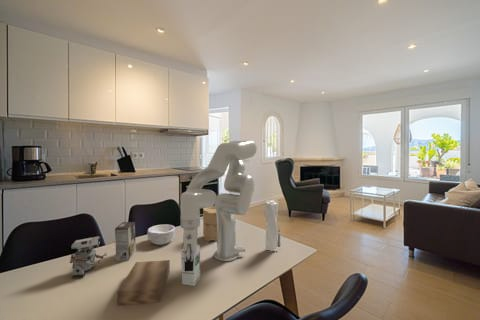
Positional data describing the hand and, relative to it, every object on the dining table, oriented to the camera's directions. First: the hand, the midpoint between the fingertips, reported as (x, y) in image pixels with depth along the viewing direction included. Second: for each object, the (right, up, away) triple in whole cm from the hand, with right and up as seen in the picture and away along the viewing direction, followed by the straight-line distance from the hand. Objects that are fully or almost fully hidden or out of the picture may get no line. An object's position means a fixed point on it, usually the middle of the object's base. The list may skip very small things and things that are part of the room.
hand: (189, 264), depth 90 cm
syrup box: (0, -8, +1) cm, 8 cm away
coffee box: (-37, -6, +22) cm, 43 cm away
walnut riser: (-16, -7, -2) cm, 18 cm away
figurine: (-46, -7, +8) cm, 47 cm away
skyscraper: (+38, -6, +30) cm, 49 cm away
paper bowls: (-25, -6, +40) cm, 47 cm away
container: (+4, -5, +46) cm, 46 cm away
